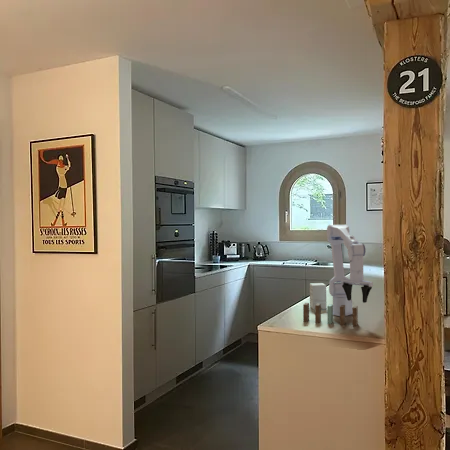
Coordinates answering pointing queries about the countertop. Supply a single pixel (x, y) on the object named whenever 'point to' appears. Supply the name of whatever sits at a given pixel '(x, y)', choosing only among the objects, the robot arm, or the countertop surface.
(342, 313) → the domino
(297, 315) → the countertop surface
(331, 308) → the domino
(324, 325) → the countertop surface
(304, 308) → the domino
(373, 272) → the countertop surface
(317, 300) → the supplement box
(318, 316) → the domino
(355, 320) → the brown flat rectangular block
